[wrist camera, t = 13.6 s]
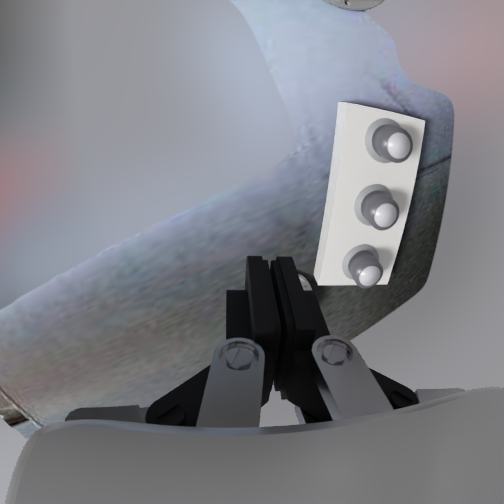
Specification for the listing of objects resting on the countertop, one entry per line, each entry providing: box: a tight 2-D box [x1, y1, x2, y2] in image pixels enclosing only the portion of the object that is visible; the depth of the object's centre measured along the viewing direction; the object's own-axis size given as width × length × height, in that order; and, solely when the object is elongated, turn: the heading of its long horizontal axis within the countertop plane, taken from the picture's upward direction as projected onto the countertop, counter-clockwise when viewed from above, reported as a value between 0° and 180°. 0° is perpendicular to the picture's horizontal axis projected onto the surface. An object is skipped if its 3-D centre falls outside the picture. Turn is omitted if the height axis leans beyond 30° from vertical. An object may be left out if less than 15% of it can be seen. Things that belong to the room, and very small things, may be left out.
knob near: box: [372, 125, 413, 163], centre depth 32 cm, size 4×4×3 cm
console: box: [314, 102, 425, 285], centre depth 39 cm, size 26×12×3 cm, turn 177°
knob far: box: [348, 251, 383, 288], centre depth 41 cm, size 4×4×3 cm
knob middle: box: [361, 191, 399, 230], centre depth 36 cm, size 4×4×3 cm
